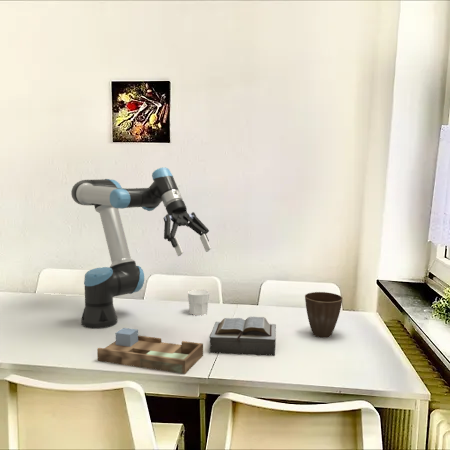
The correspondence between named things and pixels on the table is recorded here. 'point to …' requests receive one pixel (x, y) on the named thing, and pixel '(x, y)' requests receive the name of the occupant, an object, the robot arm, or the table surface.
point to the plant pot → (323, 312)
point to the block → (126, 337)
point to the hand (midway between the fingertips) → (195, 252)
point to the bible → (243, 336)
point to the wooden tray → (153, 354)
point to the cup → (198, 301)
